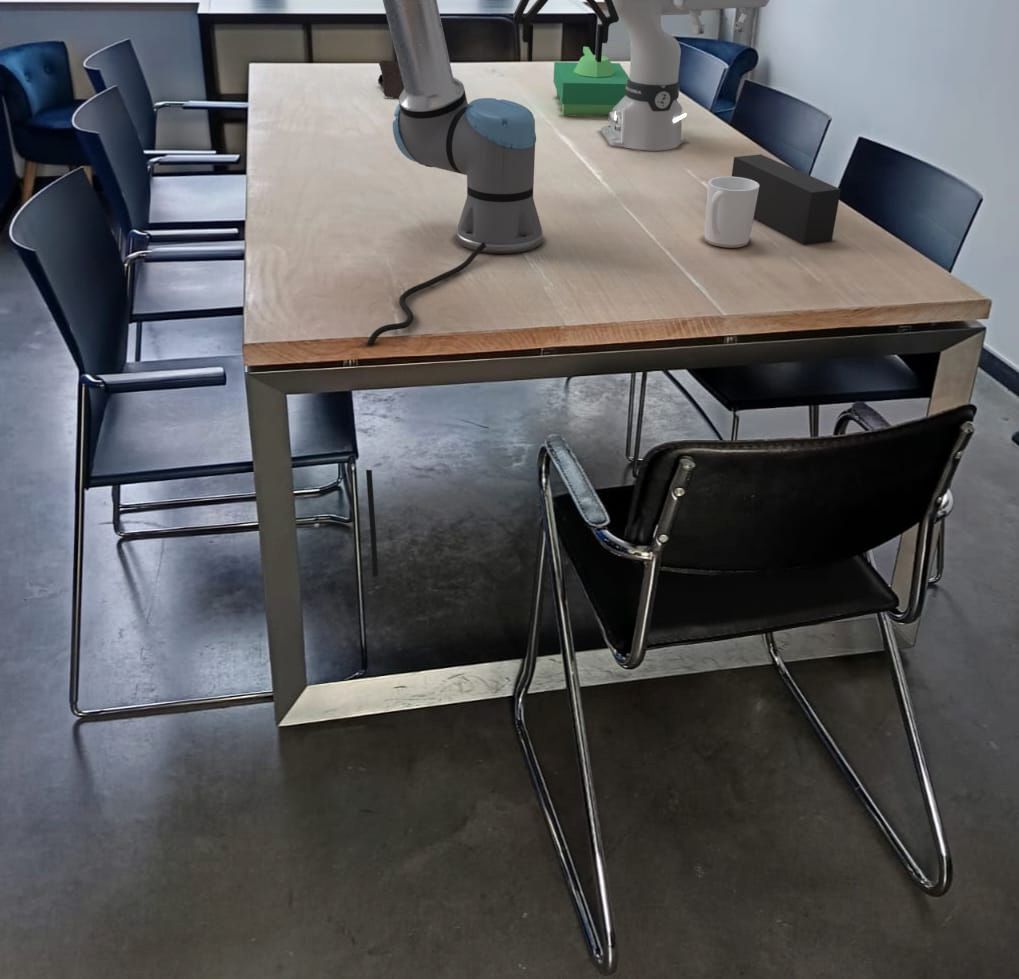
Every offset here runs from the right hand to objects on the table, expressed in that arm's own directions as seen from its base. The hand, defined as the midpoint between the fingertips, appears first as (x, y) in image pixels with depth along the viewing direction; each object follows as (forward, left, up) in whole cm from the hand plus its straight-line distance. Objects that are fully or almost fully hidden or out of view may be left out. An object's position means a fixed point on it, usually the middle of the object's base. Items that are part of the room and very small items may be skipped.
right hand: (718, 32), depth 218 cm
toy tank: (-72, +1, -29) cm, 78 cm away
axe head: (-97, -44, -29) cm, 110 cm away
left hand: (-3, -31, -5) cm, 32 cm away
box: (+31, +1, -29) cm, 42 cm away
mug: (+39, -15, -29) cm, 51 cm away
